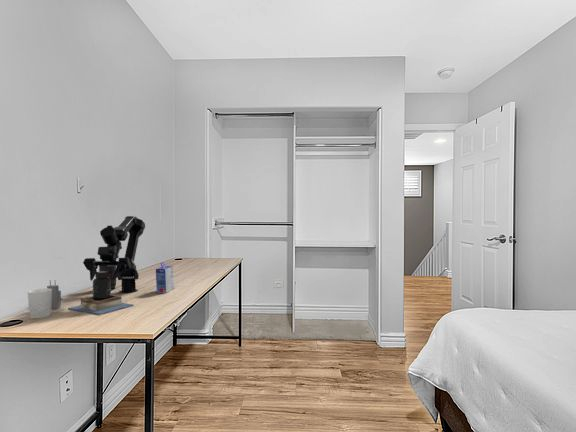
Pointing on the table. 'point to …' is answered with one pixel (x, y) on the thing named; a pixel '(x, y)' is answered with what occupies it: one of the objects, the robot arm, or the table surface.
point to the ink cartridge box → (164, 278)
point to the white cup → (40, 302)
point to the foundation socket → (101, 303)
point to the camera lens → (109, 274)
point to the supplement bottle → (101, 286)
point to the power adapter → (55, 296)
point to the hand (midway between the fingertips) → (102, 279)
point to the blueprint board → (78, 308)
